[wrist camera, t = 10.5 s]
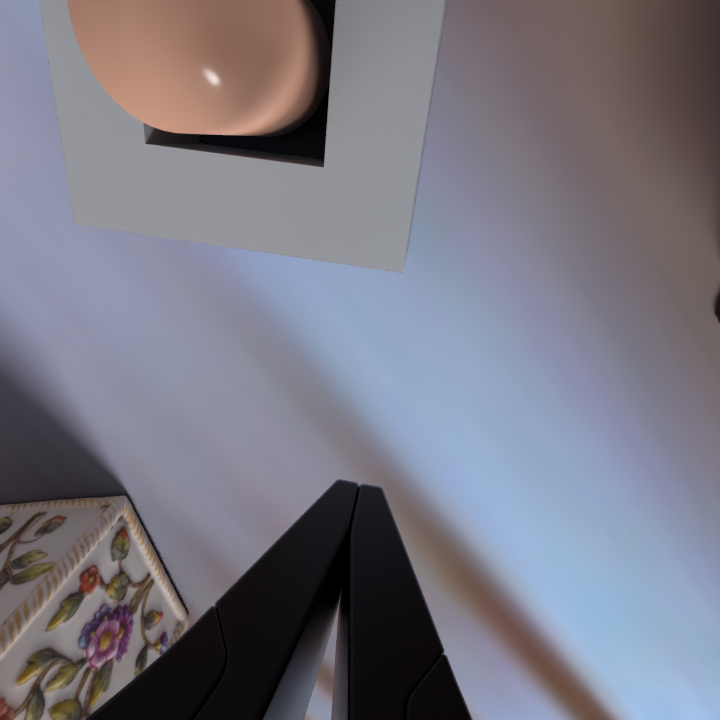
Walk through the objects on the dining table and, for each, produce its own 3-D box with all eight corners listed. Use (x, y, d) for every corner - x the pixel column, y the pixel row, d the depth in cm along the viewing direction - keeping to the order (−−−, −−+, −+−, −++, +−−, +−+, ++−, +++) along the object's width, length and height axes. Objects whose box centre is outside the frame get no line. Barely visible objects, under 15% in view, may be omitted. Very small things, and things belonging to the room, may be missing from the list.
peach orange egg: (336, -20, 15) (275, -123, 9) (325, 144, 17) (269, 145, 11) (194, -34, 15) (48, -142, 9) (200, 128, 17) (83, 121, 12)
